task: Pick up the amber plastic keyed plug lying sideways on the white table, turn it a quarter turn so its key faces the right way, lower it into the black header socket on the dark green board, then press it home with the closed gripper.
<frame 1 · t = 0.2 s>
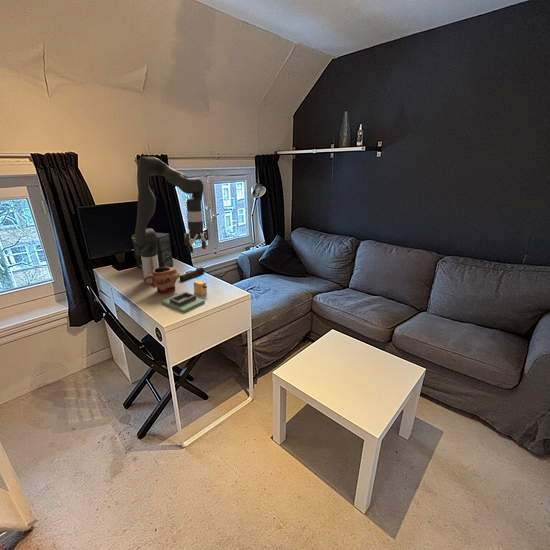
hand: (197, 250, 156), 28 cm above the table, fingers open, 8 cm apart
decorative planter: (163, 292, 173), on the table
keyed plug: (200, 293, 172), on the table
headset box: (155, 267, 212), on the table
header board: (183, 302, 160), on the table
hand tool: (192, 277, 196), on the table
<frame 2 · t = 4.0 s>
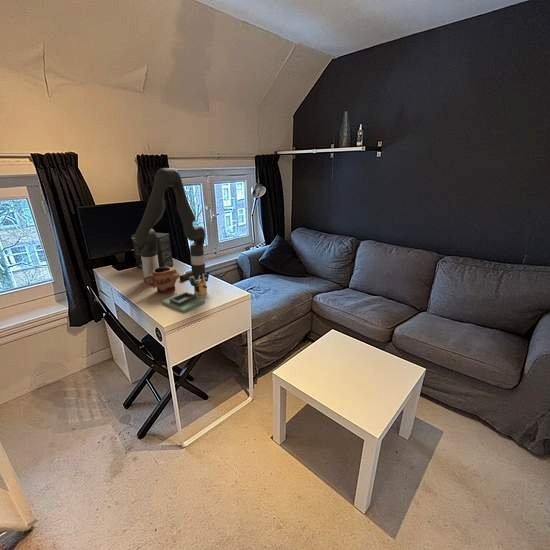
hand: (200, 290, 171), 2 cm above the table, fingers closed on keyed plug, 4 cm apart
keyed plug: (200, 293, 172), on the table, touching gripper
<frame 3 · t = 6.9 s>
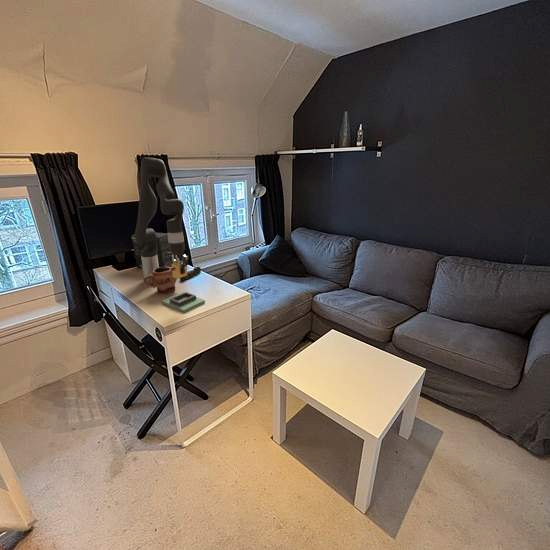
hand: (179, 272, 153), 17 cm above the table, fingers closed on keyed plug, 4 cm apart
keyed plug: (180, 276, 154), point 16 cm above the table, touching gripper
when the fingers open (5 cm above the table, at t = 10.1 s): keyed plug drops 1 cm, resting on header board.
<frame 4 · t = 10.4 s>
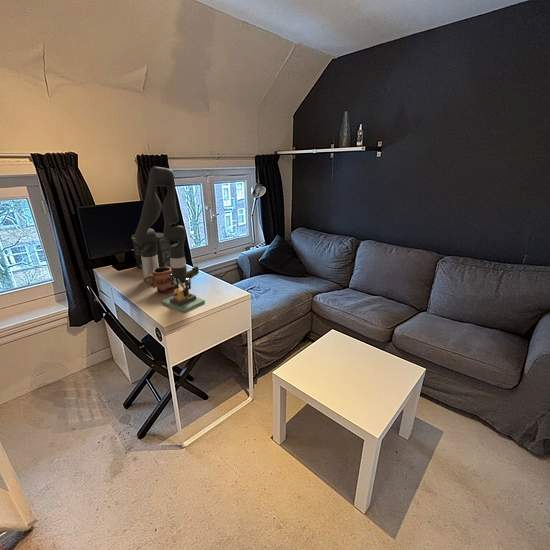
hand: (181, 294, 157), 5 cm above the table, fingers open, 6 cm apart
keyed plug: (182, 300, 159), point 1 cm above the table, touching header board
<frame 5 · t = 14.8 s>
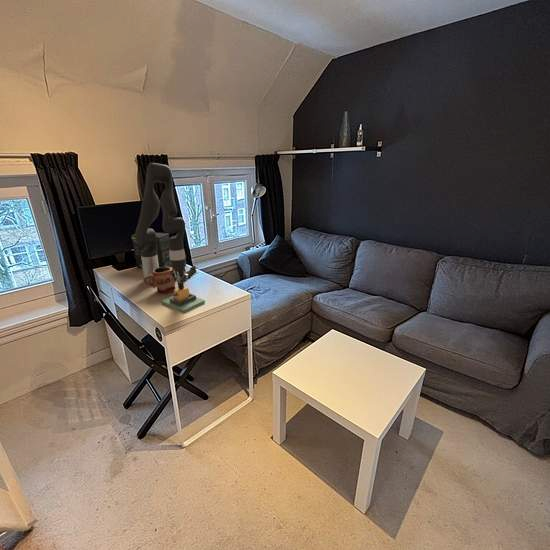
hand: (181, 288, 156), 8 cm above the table, fingers closed
keyed plug: (182, 300, 159), point 1 cm above the table, touching gripper, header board
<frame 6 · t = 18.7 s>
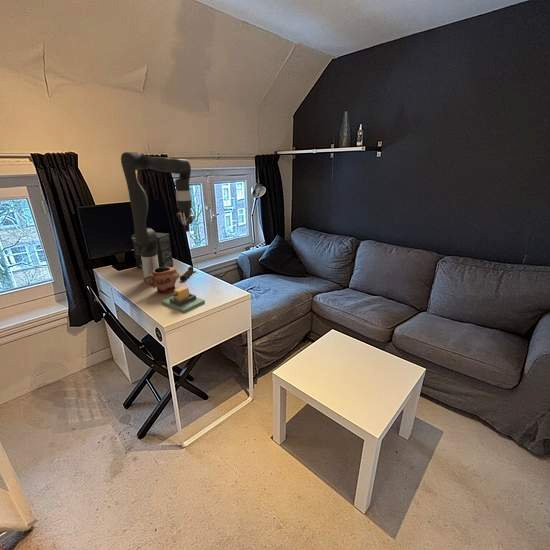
hand: (186, 231, 164), 35 cm above the table, fingers closed
keyed plug: (182, 300, 159), point 1 cm above the table, touching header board
at the end: keyed plug 0.0 cm off-centre on the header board, point 1.5 cm above the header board's base; keyed plug tilted 0°; the gripper is holding nothing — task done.
